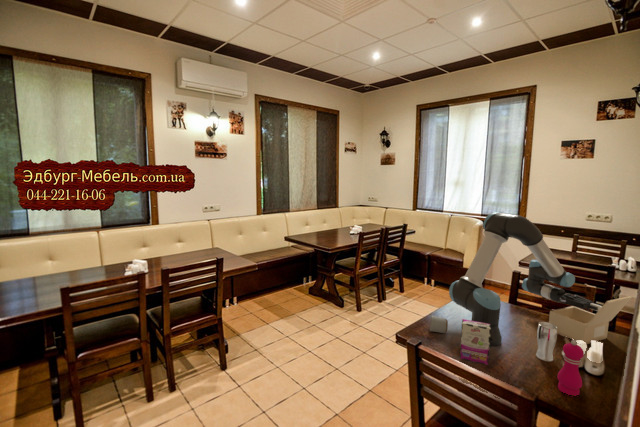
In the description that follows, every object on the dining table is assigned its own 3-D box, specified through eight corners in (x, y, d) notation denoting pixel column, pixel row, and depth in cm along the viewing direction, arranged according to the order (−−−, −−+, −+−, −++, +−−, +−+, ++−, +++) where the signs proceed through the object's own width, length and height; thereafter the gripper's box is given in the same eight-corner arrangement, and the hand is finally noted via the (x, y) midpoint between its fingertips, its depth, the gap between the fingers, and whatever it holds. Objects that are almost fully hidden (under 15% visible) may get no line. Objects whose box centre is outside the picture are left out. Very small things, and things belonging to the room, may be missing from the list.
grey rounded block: (447, 336, 154) (448, 321, 153) (429, 333, 156) (430, 319, 155) (445, 326, 164) (446, 312, 163) (429, 324, 166) (430, 310, 165)
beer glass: (555, 364, 132) (558, 330, 130) (535, 358, 135) (538, 326, 133) (553, 356, 137) (557, 324, 135) (534, 351, 141) (537, 320, 139)
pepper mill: (560, 394, 113) (566, 343, 111) (553, 382, 120) (558, 333, 117) (584, 400, 111) (591, 347, 108) (576, 387, 118) (582, 337, 115)
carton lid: (586, 325, 145) (587, 326, 144) (606, 301, 137) (608, 302, 136) (609, 319, 151) (610, 320, 150) (630, 295, 143) (632, 297, 142)
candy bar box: (487, 359, 135) (490, 323, 133) (488, 365, 130) (491, 328, 128) (459, 352, 140) (462, 318, 138) (459, 358, 135) (461, 323, 133)
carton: (583, 345, 146) (586, 325, 145) (548, 329, 161) (550, 311, 160) (607, 338, 152) (609, 319, 151) (570, 323, 167) (572, 305, 166)
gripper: (560, 298, 171) (613, 316, 149) (545, 301, 166) (598, 321, 144) (561, 285, 170) (615, 301, 148) (546, 288, 165) (600, 306, 143)
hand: (607, 311), depth 146 cm, fingers closed
